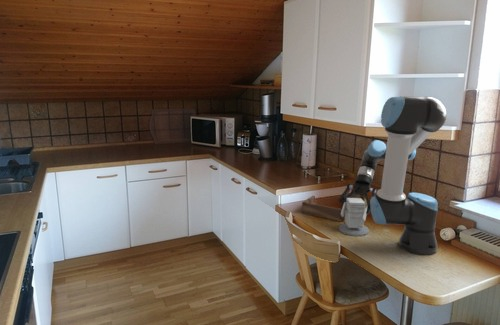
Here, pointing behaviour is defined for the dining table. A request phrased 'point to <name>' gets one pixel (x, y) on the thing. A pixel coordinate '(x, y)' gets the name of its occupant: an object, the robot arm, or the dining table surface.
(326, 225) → the dining table surface
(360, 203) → the supplement box
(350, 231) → the slate mat
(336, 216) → the walnut cubby
